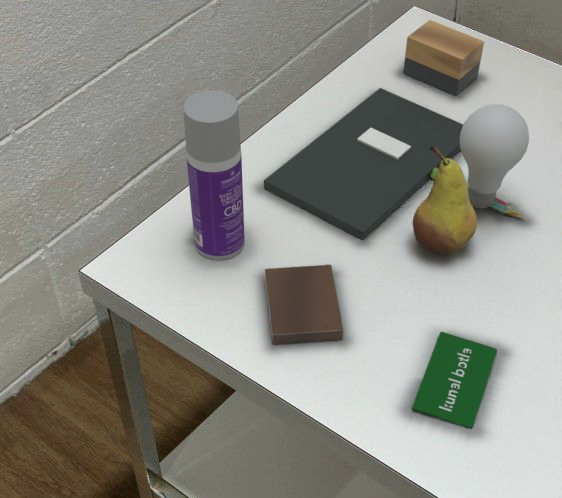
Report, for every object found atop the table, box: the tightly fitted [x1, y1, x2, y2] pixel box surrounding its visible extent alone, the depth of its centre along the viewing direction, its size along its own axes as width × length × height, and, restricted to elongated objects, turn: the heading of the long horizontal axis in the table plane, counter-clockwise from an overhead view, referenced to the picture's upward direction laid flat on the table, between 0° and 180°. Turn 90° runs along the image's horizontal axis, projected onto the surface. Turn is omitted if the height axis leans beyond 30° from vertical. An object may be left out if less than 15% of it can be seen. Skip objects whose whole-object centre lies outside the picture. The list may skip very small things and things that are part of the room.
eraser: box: [402, 19, 485, 97], centre depth 104 cm, size 4×7×4 cm, turn 51°
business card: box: [411, 331, 498, 429], centre depth 78 cm, size 9×1×5 cm
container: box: [182, 89, 246, 261], centre depth 82 cm, size 5×5×15 cm
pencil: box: [430, 167, 526, 220], centre depth 93 cm, size 1×1×18 cm
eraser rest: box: [264, 264, 344, 345], centre depth 82 cm, size 6×8×1 cm
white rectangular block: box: [357, 128, 411, 160], centre depth 96 cm, size 2×5×1 cm, turn 51°
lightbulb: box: [460, 103, 530, 209], centre depth 87 cm, size 6×6×11 cm
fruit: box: [412, 146, 478, 255], centre depth 83 cm, size 6×6×12 cm
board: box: [263, 87, 464, 241], centre depth 95 cm, size 20×12×1 cm, turn 141°
